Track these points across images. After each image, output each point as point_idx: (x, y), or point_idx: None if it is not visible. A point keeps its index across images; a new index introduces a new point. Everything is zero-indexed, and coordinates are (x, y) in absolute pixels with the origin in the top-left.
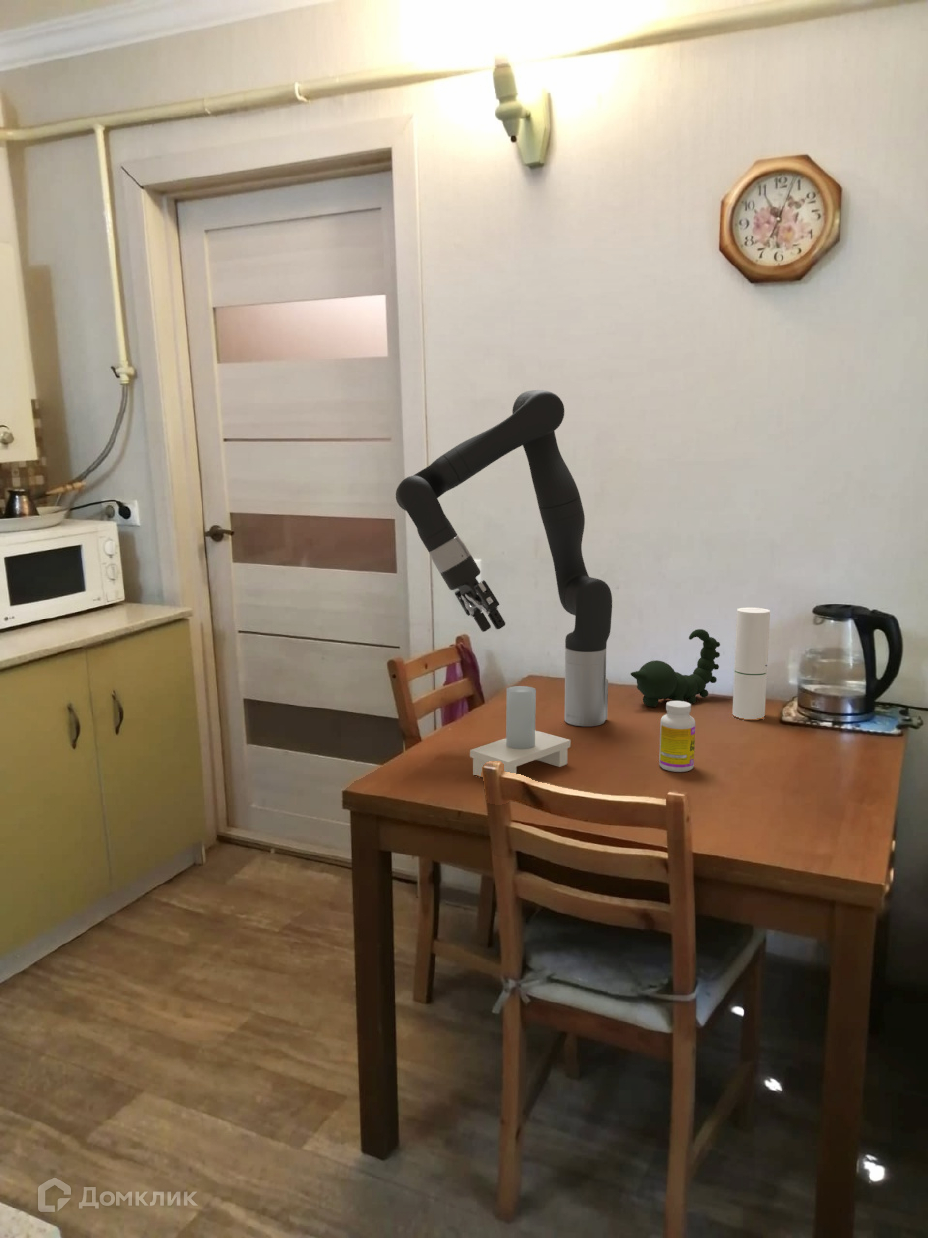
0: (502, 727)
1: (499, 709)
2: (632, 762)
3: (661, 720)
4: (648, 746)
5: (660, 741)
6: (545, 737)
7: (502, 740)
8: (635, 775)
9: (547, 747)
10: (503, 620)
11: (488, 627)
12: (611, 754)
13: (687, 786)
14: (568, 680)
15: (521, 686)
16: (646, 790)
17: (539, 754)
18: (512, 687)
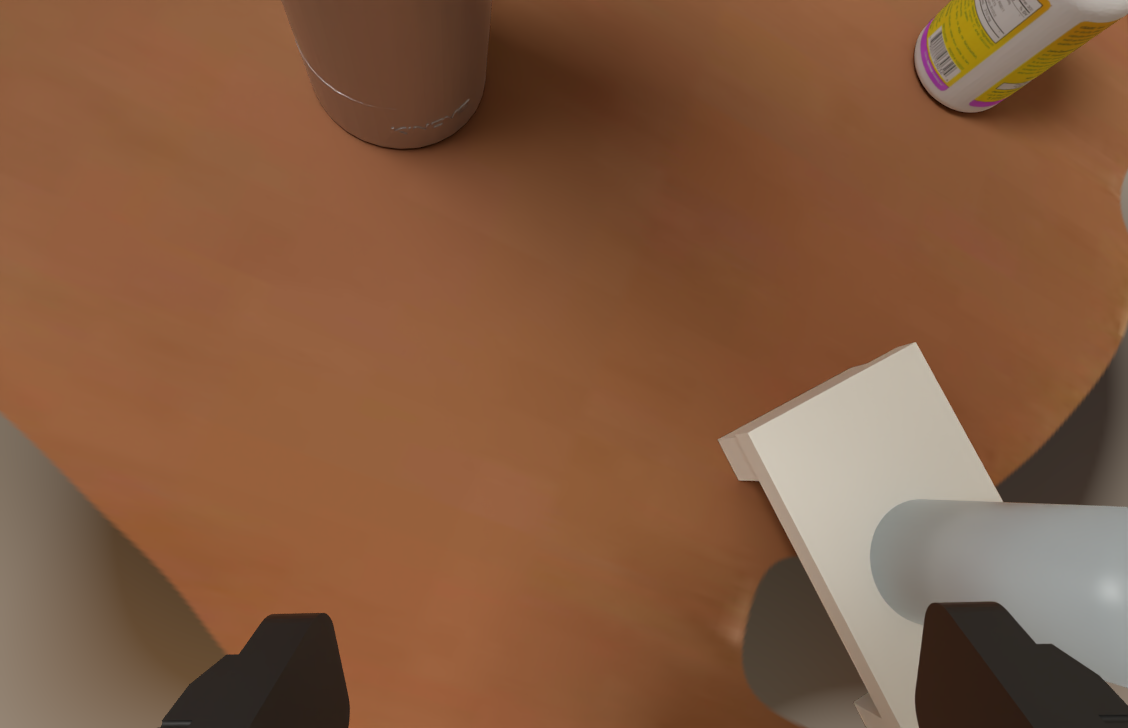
0: (342, 429)
1: (38, 333)
2: (885, 161)
3: (1092, 5)
4: (756, 28)
5: (1020, 60)
6: (863, 423)
7: (856, 618)
8: (991, 214)
9: (978, 467)
10: (1029, 646)
11: (327, 654)
12: (798, 181)
13: (1095, 130)
14: (395, 22)
15: (1108, 573)
16: (1103, 250)
17: None
18: (1125, 642)
